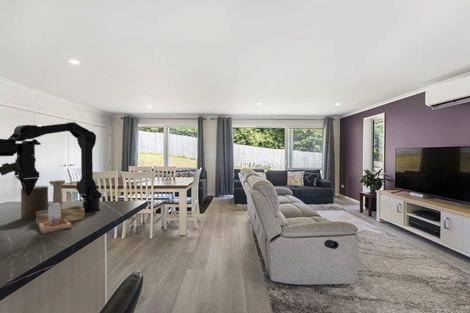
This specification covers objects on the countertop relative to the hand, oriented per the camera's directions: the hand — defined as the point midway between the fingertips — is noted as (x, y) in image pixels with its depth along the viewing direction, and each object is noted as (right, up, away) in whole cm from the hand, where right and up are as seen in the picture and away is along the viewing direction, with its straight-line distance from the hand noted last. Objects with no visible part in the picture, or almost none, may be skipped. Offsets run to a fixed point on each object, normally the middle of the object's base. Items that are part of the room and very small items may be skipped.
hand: (26, 194), depth 103 cm
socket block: (+10, -12, +6) cm, 17 cm away
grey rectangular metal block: (+6, -10, +2) cm, 12 cm away
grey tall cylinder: (+15, -12, -5) cm, 20 cm away
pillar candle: (-6, -13, +12) cm, 18 cm away
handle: (-4, -12, +24) cm, 28 cm away
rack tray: (+15, -13, -5) cm, 20 cm away
